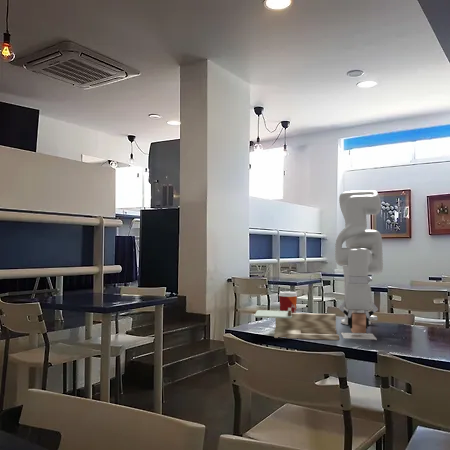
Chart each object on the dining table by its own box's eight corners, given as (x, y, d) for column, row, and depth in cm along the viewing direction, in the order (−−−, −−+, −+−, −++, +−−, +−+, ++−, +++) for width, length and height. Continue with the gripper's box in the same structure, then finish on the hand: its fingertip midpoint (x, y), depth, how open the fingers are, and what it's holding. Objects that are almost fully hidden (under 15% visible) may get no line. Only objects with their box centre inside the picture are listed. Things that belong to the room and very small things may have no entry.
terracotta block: (364, 330, 183) (363, 312, 183) (366, 333, 178) (365, 314, 178) (350, 330, 184) (350, 312, 184) (352, 332, 179) (352, 314, 179)
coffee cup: (297, 329, 197) (297, 293, 197) (277, 328, 198) (277, 293, 199) (298, 325, 205) (298, 291, 205) (279, 325, 206) (279, 291, 207)
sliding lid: (291, 312, 192) (291, 306, 192) (291, 318, 177) (291, 311, 177) (257, 311, 194) (257, 305, 194) (254, 317, 179) (254, 310, 179)
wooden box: (335, 332, 190) (335, 314, 190) (339, 340, 174) (339, 320, 174) (275, 330, 193) (275, 312, 194) (274, 338, 177) (274, 318, 178)
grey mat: (372, 335, 185) (372, 333, 185) (376, 340, 175) (376, 338, 175) (341, 334, 187) (341, 332, 187) (343, 339, 177) (343, 337, 177)
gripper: (379, 280, 184) (379, 326, 184) (334, 279, 187) (334, 325, 186) (382, 281, 177) (383, 330, 176) (336, 281, 179) (336, 329, 179)
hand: (358, 327), depth 181 cm, fingers closed on terracotta block, 5 cm apart
